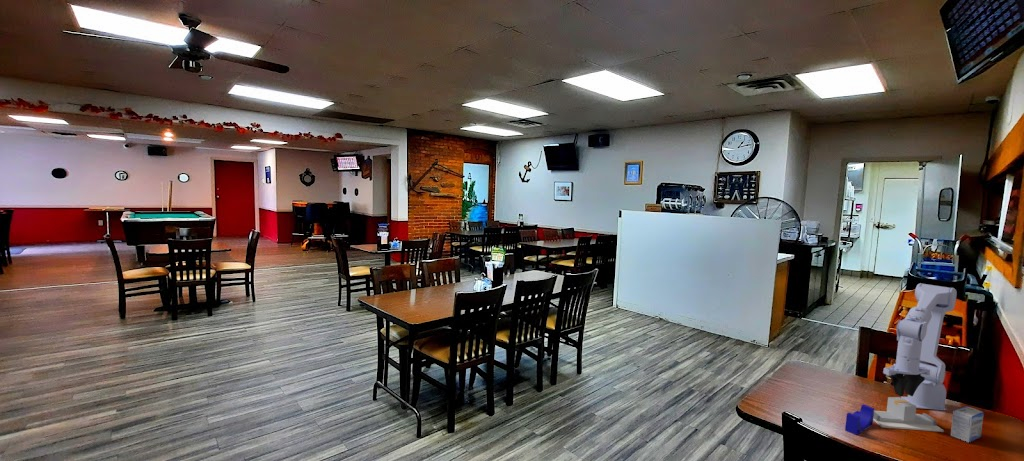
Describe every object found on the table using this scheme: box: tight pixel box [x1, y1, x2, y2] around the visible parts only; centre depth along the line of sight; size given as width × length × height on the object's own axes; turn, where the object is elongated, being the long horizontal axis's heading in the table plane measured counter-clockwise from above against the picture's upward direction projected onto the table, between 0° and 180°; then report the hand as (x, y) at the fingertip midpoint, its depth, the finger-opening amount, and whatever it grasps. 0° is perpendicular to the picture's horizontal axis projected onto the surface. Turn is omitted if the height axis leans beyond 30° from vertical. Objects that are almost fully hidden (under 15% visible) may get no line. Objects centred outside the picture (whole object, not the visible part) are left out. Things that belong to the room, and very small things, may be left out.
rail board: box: [873, 410, 945, 433], centre depth 144 cm, size 18×10×2 cm, turn 82°
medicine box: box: [950, 405, 984, 444], centre depth 135 cm, size 8×4×9 cm, turn 114°
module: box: [886, 396, 917, 421], centre depth 144 cm, size 4×6×5 cm
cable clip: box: [844, 404, 875, 436], centre depth 141 cm, size 12×4×6 cm, turn 120°
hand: (903, 394), depth 143 cm, fingers open, 3 cm apart
